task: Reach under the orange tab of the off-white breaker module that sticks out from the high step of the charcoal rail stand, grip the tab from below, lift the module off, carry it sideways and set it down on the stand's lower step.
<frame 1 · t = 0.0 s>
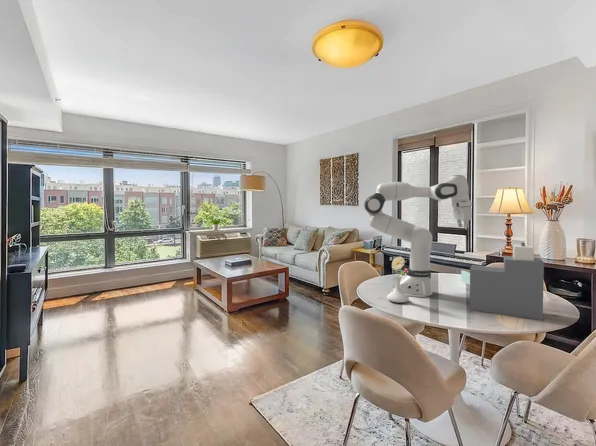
hand: (463, 227, 169), 39 cm above the table, tool pointing down, fingers open, 8 cm apart
mint green angled piece: (475, 283, 196), on the table
breaker module: (522, 258, 139), point 26 cm above the table, touching rail stand
flower in vase: (398, 301, 160), on the table
rail stand: (503, 310, 144), on the table
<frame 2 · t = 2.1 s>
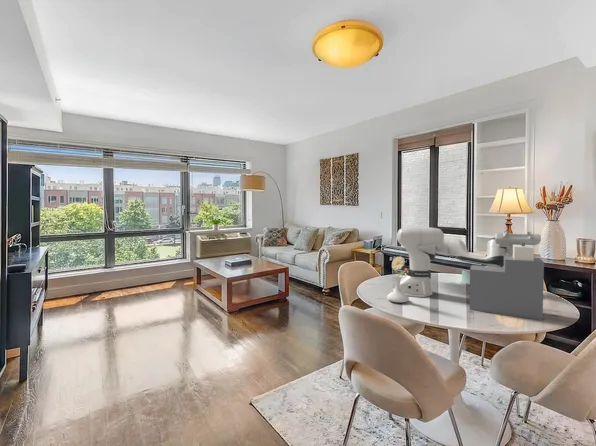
hand: (518, 232, 157), 37 cm above the table, tool pointing upward, fingers open, 8 cm apart
nothing on the table moved.
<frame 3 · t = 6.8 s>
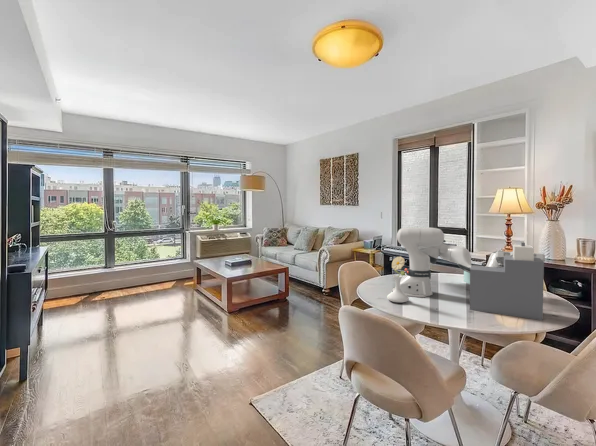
hand: (520, 251, 147), 28 cm above the table, tool pointing upward, fingers closed on breaker module, 3 cm apart
breaker module: (522, 258, 139), point 26 cm above the table, touching gripper, rail stand
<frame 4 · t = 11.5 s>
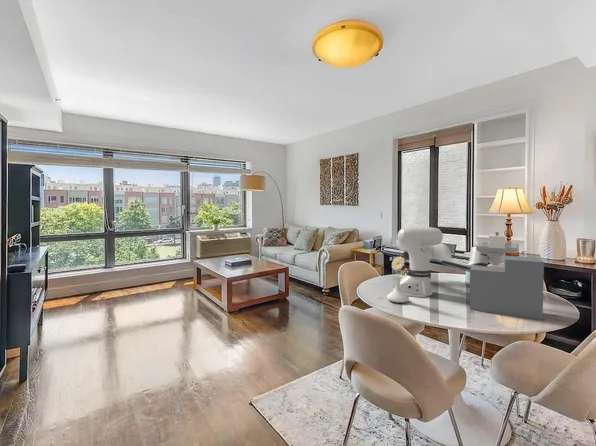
hand: (496, 241, 162), 32 cm above the table, tool pointing upward, fingers closed on breaker module, 3 cm apart
mint green angled piece: (479, 283, 195), on the table
breaker module: (496, 246, 154), point 30 cm above the table, touching gripper
everything else where it was.
when the fingers open (23 cm above the table, at t = 15.9 s): breaker module drops 1 cm, resting on rail stand.
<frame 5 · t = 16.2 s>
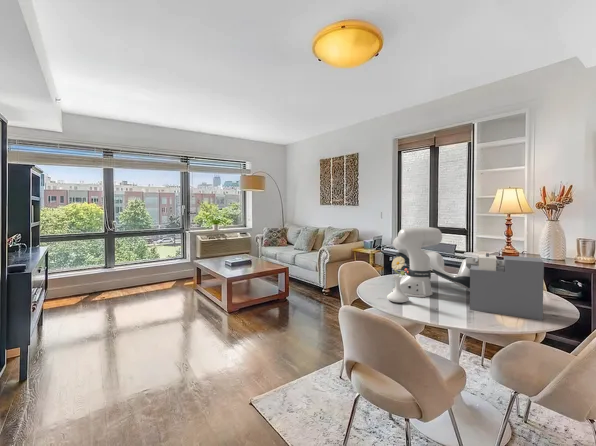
hand: (487, 258, 155), 23 cm above the table, tool pointing upward, fingers open, 6 cm apart
mint green angled piece: (481, 284, 195), on the table
breaker module: (487, 268, 147), point 20 cm above the table, touching rail stand
everything else where it was.
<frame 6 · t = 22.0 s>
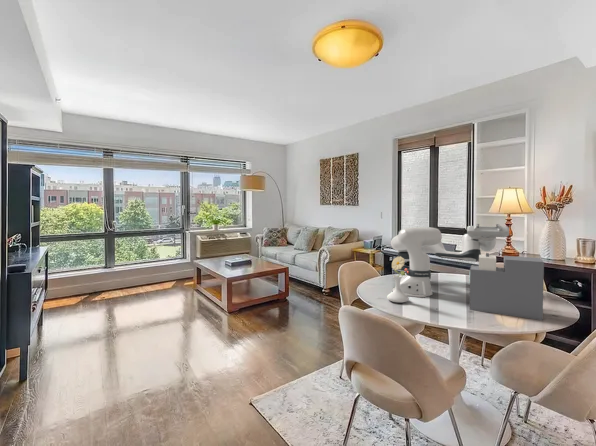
hand: (487, 225, 164), 40 cm above the table, tool pointing upward, fingers open, 8 cm apart
mint green angled piece: (484, 284, 194), on the table
everything else where it was.
at the end: breaker module inside the target area on the rail stand (0.1 cm from its centre), point 20.0 cm above the rail stand's base; the gripper is holding nothing; breaker module tilted 0° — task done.
